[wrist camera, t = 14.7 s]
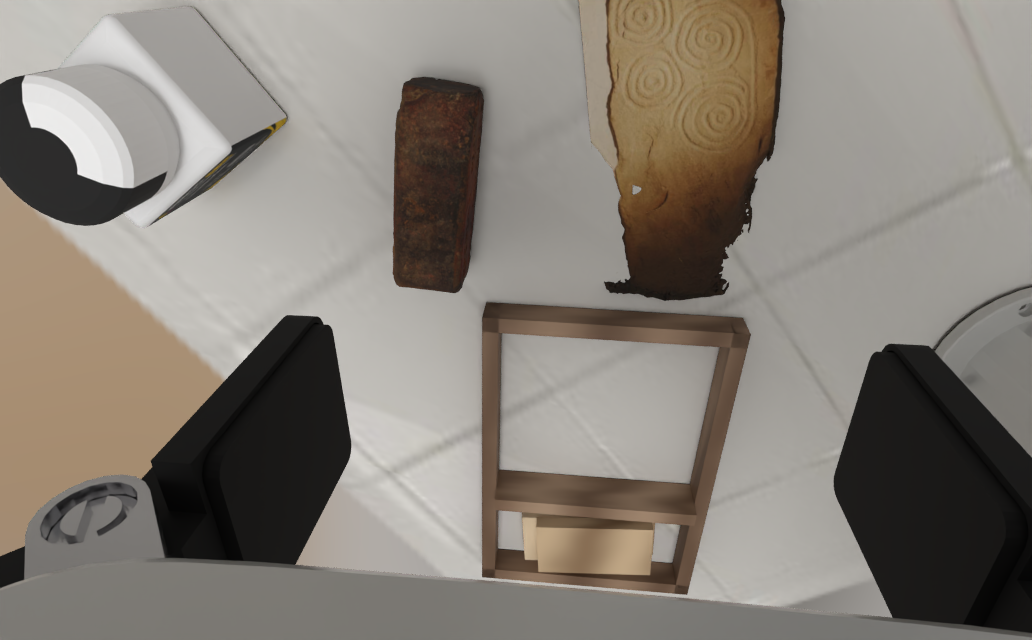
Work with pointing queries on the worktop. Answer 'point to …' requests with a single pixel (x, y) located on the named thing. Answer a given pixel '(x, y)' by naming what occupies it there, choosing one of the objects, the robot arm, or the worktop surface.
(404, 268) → the brick
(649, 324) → the rack
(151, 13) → the medicine bottle
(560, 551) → the offcut stack
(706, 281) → the parchment
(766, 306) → the worktop surface
